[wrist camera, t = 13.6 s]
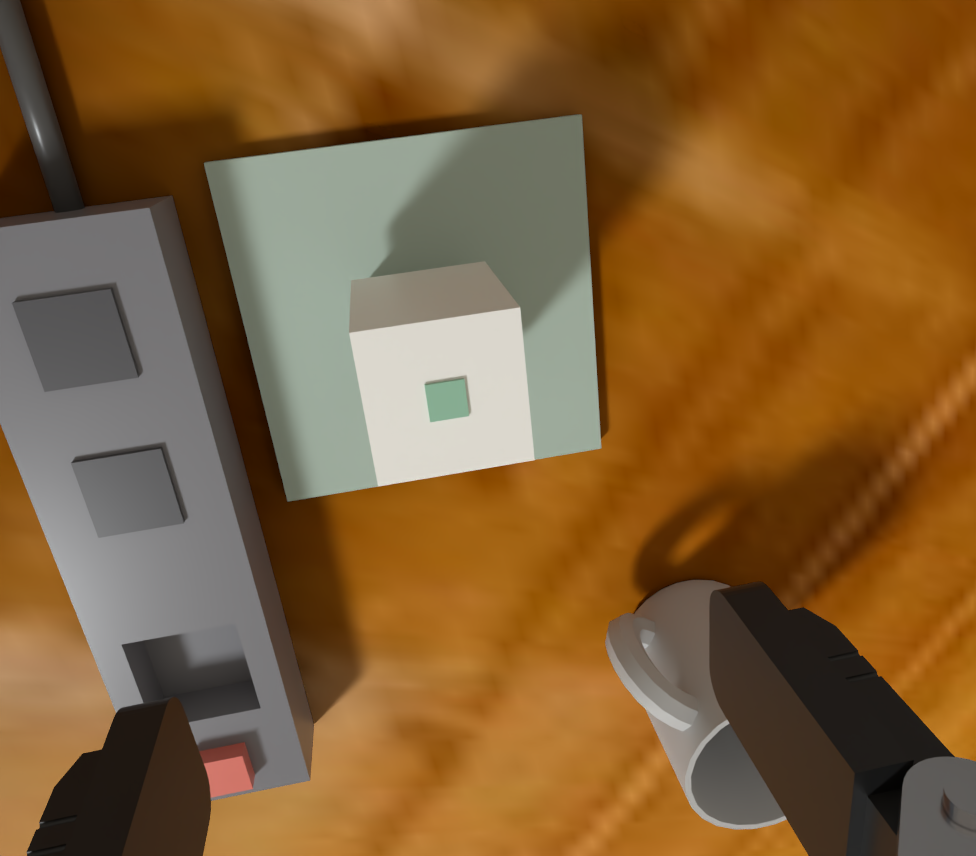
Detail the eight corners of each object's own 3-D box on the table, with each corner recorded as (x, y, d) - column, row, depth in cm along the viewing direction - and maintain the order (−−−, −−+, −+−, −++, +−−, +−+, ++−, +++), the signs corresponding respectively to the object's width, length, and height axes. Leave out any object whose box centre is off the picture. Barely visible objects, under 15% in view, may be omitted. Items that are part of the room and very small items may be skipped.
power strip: (-121, -33, 25) (-209, -57, 21) (105, -56, 26) (59, -83, 22) (172, 753, 39) (151, 826, 35) (314, 724, 39) (309, 794, 35)
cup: (699, 704, 43) (778, 846, 35) (548, 645, 40) (597, 786, 32) (777, 603, 41) (881, 729, 33) (626, 533, 38) (699, 653, 30)
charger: (351, 270, 30) (348, 333, 22) (477, 252, 31) (521, 308, 23) (373, 389, 32) (378, 487, 24) (491, 371, 33) (535, 461, 25)
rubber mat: (206, 161, 29) (203, 163, 28) (577, 114, 30) (581, 114, 29) (288, 495, 34) (287, 501, 34) (597, 442, 36) (601, 448, 35)
